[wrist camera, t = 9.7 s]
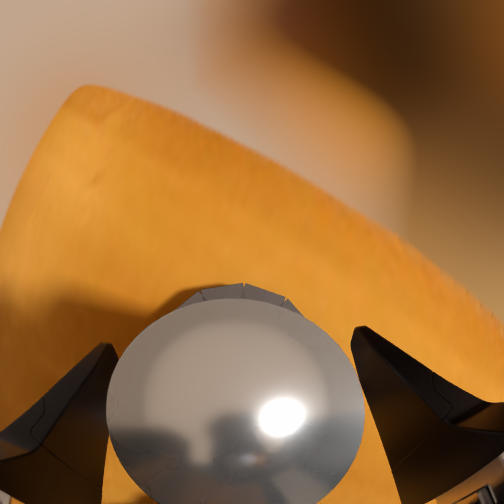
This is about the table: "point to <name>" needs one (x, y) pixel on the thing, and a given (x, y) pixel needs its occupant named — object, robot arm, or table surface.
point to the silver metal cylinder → (235, 407)
